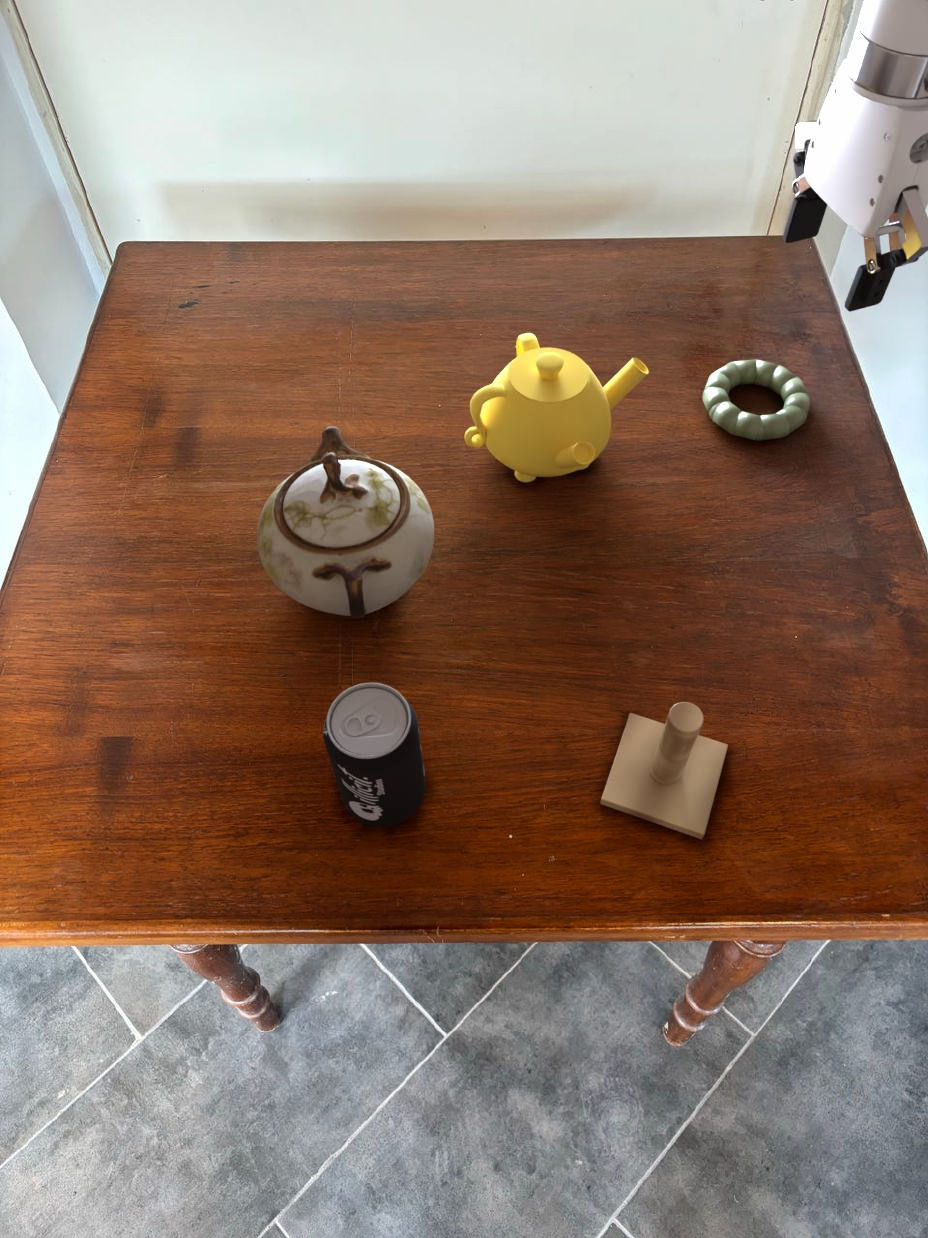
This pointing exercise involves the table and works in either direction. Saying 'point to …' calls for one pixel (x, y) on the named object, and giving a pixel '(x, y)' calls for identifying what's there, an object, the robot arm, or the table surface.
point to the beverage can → (376, 754)
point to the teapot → (547, 411)
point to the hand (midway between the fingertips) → (829, 270)
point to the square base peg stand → (666, 771)
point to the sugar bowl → (345, 531)
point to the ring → (750, 423)
